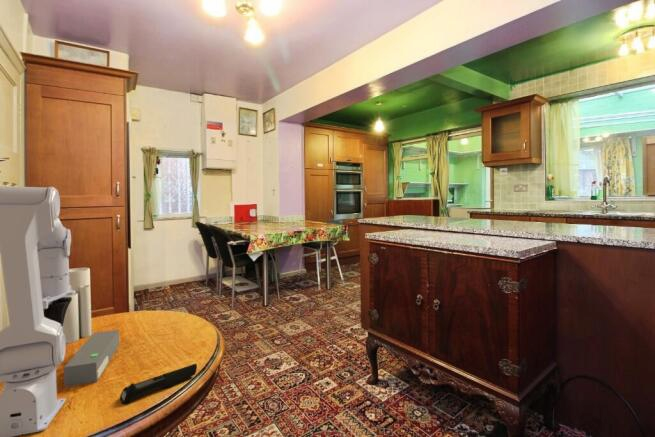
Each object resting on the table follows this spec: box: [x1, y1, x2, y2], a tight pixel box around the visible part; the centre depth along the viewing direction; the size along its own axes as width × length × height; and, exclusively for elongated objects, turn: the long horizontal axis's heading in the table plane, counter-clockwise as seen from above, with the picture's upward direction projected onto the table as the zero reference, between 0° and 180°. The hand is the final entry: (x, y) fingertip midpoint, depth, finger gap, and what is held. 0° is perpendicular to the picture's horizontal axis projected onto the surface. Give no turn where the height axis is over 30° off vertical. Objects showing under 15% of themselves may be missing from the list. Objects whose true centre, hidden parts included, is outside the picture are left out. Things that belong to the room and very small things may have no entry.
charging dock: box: [63, 329, 120, 388], centre depth 81 cm, size 20×6×5 cm, turn 21°
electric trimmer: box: [119, 363, 198, 405], centre depth 71 cm, size 4×16×3 cm, turn 134°
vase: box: [62, 267, 92, 344], centre depth 97 cm, size 11×7×20 cm, turn 30°
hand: (56, 328), depth 79 cm, fingers closed
